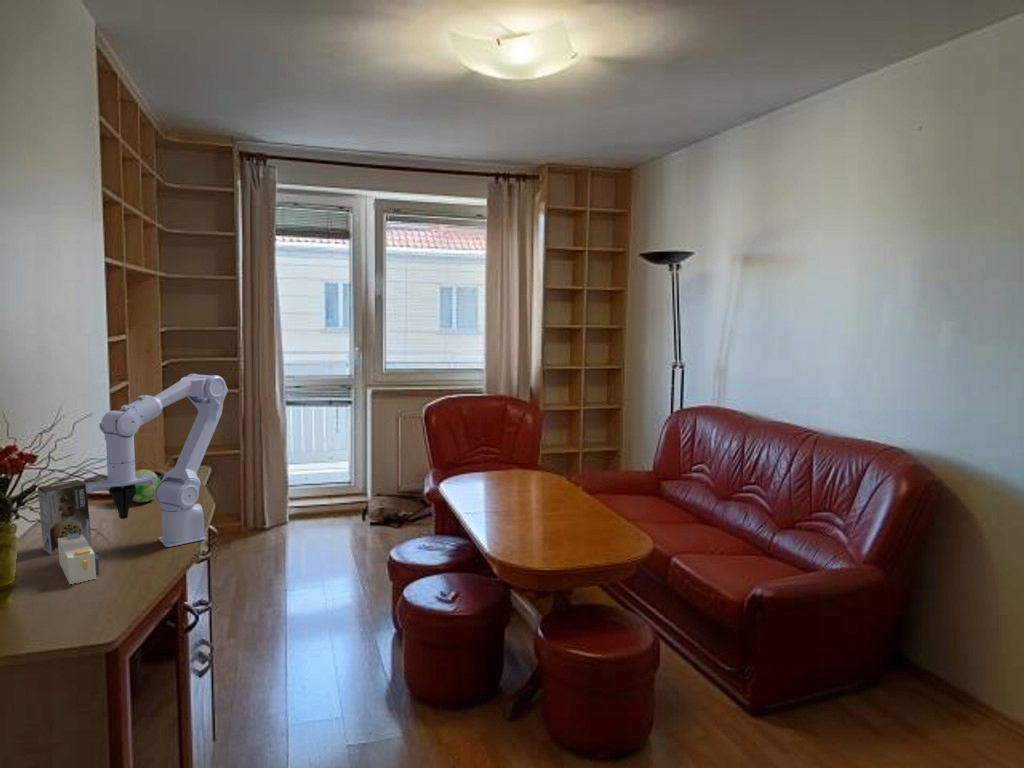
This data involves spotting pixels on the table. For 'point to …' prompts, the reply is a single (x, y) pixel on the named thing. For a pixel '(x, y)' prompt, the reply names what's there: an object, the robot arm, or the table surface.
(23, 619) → the table surface
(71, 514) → the coffee box
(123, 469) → the robot arm
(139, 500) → the decorative ball
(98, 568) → the plug
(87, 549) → the socket box
